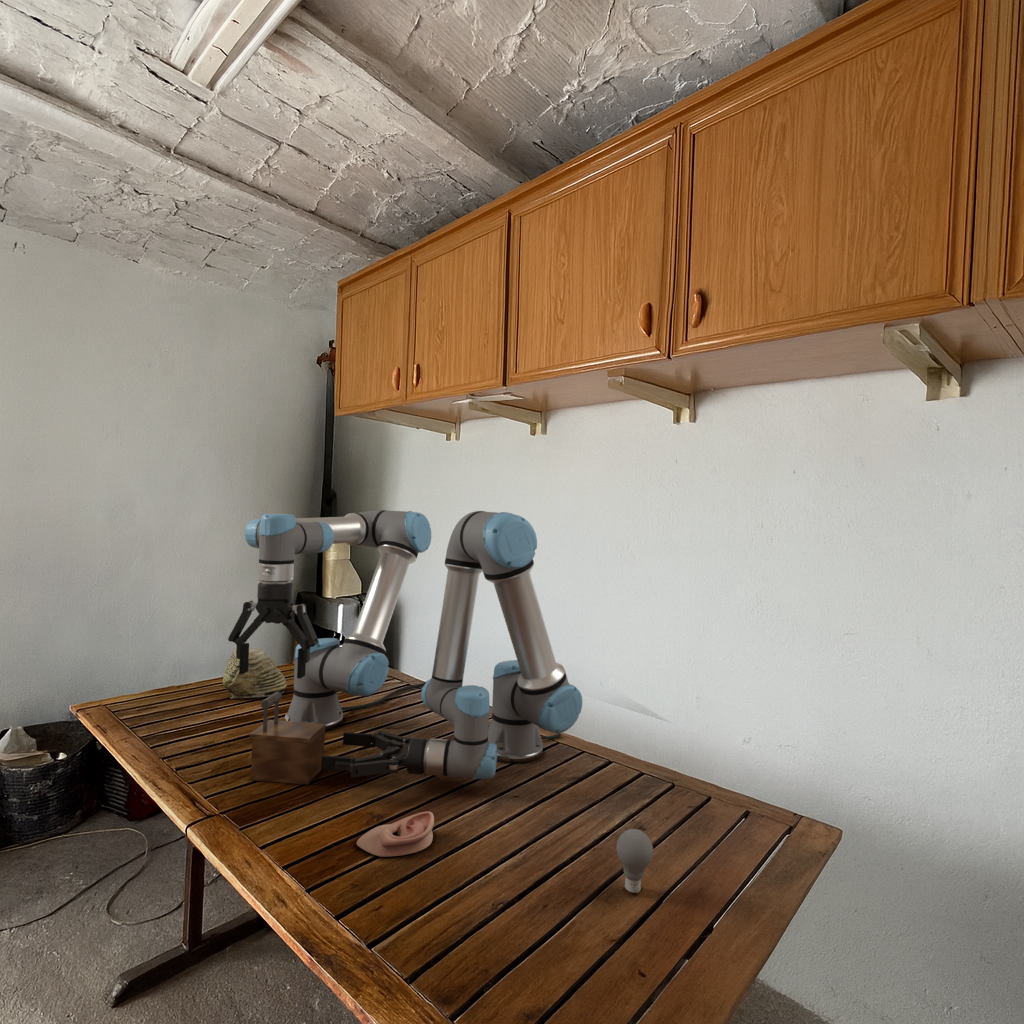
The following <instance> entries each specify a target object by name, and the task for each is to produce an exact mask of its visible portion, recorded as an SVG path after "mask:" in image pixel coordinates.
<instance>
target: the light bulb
mask: <svg viewBox="0 0 1024 1024" xmlns="http://www.w3.org/2000/svg"><path fill="white" fill-rule="evenodd" d="M615 849H616V854H617V857H618V859H619V861H620V863H621V865H622V867H623V873H624V874H623V875H624V876H625V878H624V888H625V890H627V891H628V892H630V893H634V894H635V893H639V892H640V891H641V889H642V887H641V886H642V879H643V877H644V875H645V871H646V868H647V867H648V866H649V864H650V863H651V861H652V859H653V855H654V847H653V843H652V841H651V838H649V836H648V835H647V834H646V833H645V832H643V831H642V830H641V829H636V828H629V829H627V830H625V831H623V832H622V833H621V834H620V835H619V837H618V839H617V841H616V847H615Z"/></svg>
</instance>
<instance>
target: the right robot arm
mask: <svg viewBox="0 0 1024 1024" xmlns="http://www.w3.org/2000/svg"><path fill="white" fill-rule="evenodd" d="M537 548H538V538H537V534H536V531H535V529H534V527H533V525H532V524H531V523H530V522H529V521H528V520H527V519H526V518H524V517H522V516H521V515H520V514H519V515H518V514H514V513H512V512H506V511H501V512H494V511H486V510H475V511H471V512H470V513H467V514H465V515H464V516H462V517H461V518H460V519H459V521H457V523H456V524H455V526H454V528H453V529H452V531H451V534H450V537H449V540H448V543H447V548H446V552H445V558H444V567H446V569H447V574H446V581H445V588H444V593H443V600H442V606H441V614H440V619H439V625H438V633H437V641H436V645H435V646H436V647H435V652H434V659H433V666H432V672H431V678H430V679H428V680H426V681H427V682H426V681H425V682H426V683H425V685H424V686H422V688H421V690H420V691H421V692H420V696H421V697H420V698H421V701H422V703H423V704H424V706H425V707H427V708H428V709H429V710H430V711H431V712H432V713H434V714H437V715H439V716H440V717H441V718H444V719H445V720H446V721H448V722H450V723H451V724H452V725H453V726H454V727H453V728H454V729H453V739H444V738H430V739H428V738H427V737H426V738H425V737H405V736H401V735H398V734H395V733H391V732H387V731H385V730H381V729H380V730H377V731H376V732H373V733H362V732H349V731H344V732H343V733H342V745H343V746H355V747H367V748H368V747H369V748H377V749H379V750H382V751H380V753H377V754H373V755H368V756H364V757H360V758H355V757H354V756H341V755H340V756H339V755H327V754H324V755H323V756H322V760H321V769H322V770H327V771H339V772H340V771H341V772H349V773H350V778H360V777H367V776H376V775H384V774H398V773H399V768H400V767H404V768H406V773H408V774H409V775H420V776H421V775H422V776H423V775H424V774H426V775H427V776H435V777H436V778H441V777H451V778H462V779H472V780H491V779H492V778H494V777H495V775H496V772H497V771H496V770H497V764H498V763H497V761H500V762H504V763H505V762H506V763H515V764H516V763H527V762H533V761H535V760H537V759H539V758H540V757H541V756H542V755H543V752H544V751H543V750H544V744H543V740H545V741H549V740H550V741H551V740H555V739H558V738H560V737H562V734H561V733H565V732H566V731H569V729H571V728H572V727H573V726H574V725H575V724H576V722H577V721H578V719H579V716H580V714H581V713H582V708H583V695H582V692H581V691H580V690H579V689H578V688H577V686H575V684H574V685H573V684H571V683H570V682H569V679H568V676H567V673H566V672H567V671H566V669H565V667H564V666H563V664H561V663H559V662H557V661H556V657H555V654H554V651H553V647H552V644H551V640H550V636H549V633H548V630H547V626H546V623H545V620H544V616H543V613H542V610H541V606H540V603H539V599H538V596H537V593H536V590H535V589H536V588H535V586H534V583H533V579H532V576H531V571H532V569H533V568H534V566H535V562H534V558H535V555H536V550H537ZM482 573H483V576H484V579H485V580H486V581H488V582H490V583H492V584H493V586H494V589H495V592H496V595H497V599H498V602H499V605H500V609H501V613H502V616H503V619H504V622H505V625H506V628H507V631H508V634H509V638H510V642H511V646H512V648H513V651H514V654H515V657H516V659H511V660H503V661H500V662H498V663H496V664H495V666H494V668H493V676H492V680H493V681H492V700H491V701H492V702H491V703H492V704H491V705H492V706H491V705H490V692H489V690H488V689H487V688H485V687H483V686H478V685H473V684H469V685H463V683H464V676H465V670H466V663H467V657H468V649H469V643H470V637H471V631H472V624H473V617H474V613H475V612H474V610H475V605H476V600H477V599H476V598H477V592H478V586H479V579H480V574H482ZM490 711H491V721H490ZM489 723H490V724H489ZM540 729H541V730H543V731H545V732H546V731H547V732H550V733H553V735H541V732H540Z"/></svg>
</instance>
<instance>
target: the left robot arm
mask: <svg viewBox="0 0 1024 1024" xmlns="http://www.w3.org/2000/svg"><path fill="white" fill-rule="evenodd" d="M244 539H245V541H246V543H247V545H248V546H250V547H252V548H254V549H258V571H257V572H258V573H257V579H258V581H259V582H258V584H257V594H256V595H257V601H256V602H254V600H248V601H245V602H243V604H242V611H241V613H240V615H239V617H238V619H237V621H236V623H235V625H234V627H233V628H232V630H231V632H230V634H229V636H228V638H227V640H228V642H230V643H234V644H235V646H236V649H235V650H236V657H237V658H238V659H240V662H239V674H244V673H246V672H248V663H249V648H250V642H248V640H249V639H250V637H251V636H252V635H253V634H254V633H255V632H256V631H257V630H258V629H259V627H260V626H262V624H263V623H265V624H271V623H272V624H275V625H276V624H277V625H278V624H282V625H283V626H284V627H286V629H287V630H288V632H289V633H290V634H291V636H292V638H294V640H295V641H296V642H297V645H296V647H295V652H294V653H295V654H294V657H293V659H294V660H293V662H294V663H293V665H294V666H293V695H292V696H293V697H292V699H291V702H290V704H289V708H288V711H287V713H285V716H284V719H285V721H293V722H306V723H320V724H325V731H329V730H332V729H335V728H337V727H339V726H340V725H342V723H343V722H344V713H343V711H351V710H352V711H353V710H359V709H364V708H365V709H366V708H369V707H373V706H377V705H378V704H382V703H383V702H385V701H386V700H388V699H390V698H391V697H393V696H395V695H397V694H398V693H401V692H403V691H408V690H411V689H415V688H416V689H417V688H420V687H424V685H425V683H426V682H427V681H428V680H426V681H424V682H422V683H417V684H411V685H407V686H403V687H401V688H398V689H396V690H394V691H392V692H390V693H388V694H386V695H385V696H383V697H381V698H380V699H378V700H375V701H372V702H368V703H364V704H358V705H351V706H341V702H340V699H339V695H338V692H340V693H344V694H349V695H352V696H353V697H354V696H355V697H358V696H359V697H360V696H361V697H370V696H372V695H374V694H375V693H377V692H378V691H379V690H380V689H381V688H382V687H383V685H384V684H385V682H386V680H387V678H388V675H389V670H390V667H389V665H390V661H389V659H388V657H387V656H386V652H387V649H386V647H385V645H384V640H385V638H386V634H387V632H388V629H389V626H390V623H391V619H392V617H393V614H394V611H395V608H396V604H397V602H398V598H399V597H400V592H401V590H402V587H403V584H404V582H405V578H406V575H407V572H408V569H409V566H410V565H411V564H414V563H416V561H417V558H418V555H419V553H420V554H422V553H425V552H426V551H427V550H428V549H429V548H430V545H431V543H432V528H431V524H430V521H429V519H428V517H426V515H425V514H424V513H422V512H418V511H417V512H416V511H411V510H408V511H405V510H386V509H377V510H369V511H368V510H367V511H361V512H350V513H347V514H345V515H344V516H328V517H297V518H296V516H295V515H294V514H291V513H289V514H288V513H287V514H286V513H265V514H263V515H262V516H261V518H255V519H251V520H250V521H249V522H248V523H247V525H246V527H245V530H244ZM336 544H337V545H338V544H346V545H349V546H364V547H369V548H375V549H376V548H377V551H378V553H379V555H380V557H379V559H378V562H377V565H376V567H375V571H374V573H373V575H372V578H371V581H370V584H369V586H368V589H367V592H366V596H365V599H364V601H363V605H362V606H361V610H360V613H359V615H358V617H357V620H356V623H355V625H354V629H353V632H352V633H351V634H350V635H348V636H346V637H345V638H344V640H343V643H342V645H341V646H340V644H341V643H340V640H339V639H338V638H335V637H322V638H318V636H317V634H316V631H315V629H314V627H313V625H312V622H311V620H310V618H309V615H308V614H307V605H306V604H305V603H301V604H293V597H294V583H293V582H292V581H293V580H294V577H295V575H294V573H295V572H294V567H295V555H300V554H319V553H324V552H327V551H328V550H330V548H331V547H332V546H333V545H336ZM254 611H257V613H258V615H257V616H256V617H255V619H253V621H252V622H251V623H250V625H248V627H247V628H246V629H245V630H244V628H245V627H246V625H247V623H248V621H249V619H250V617H251V615H252V613H253V612H254ZM293 612H294V614H295V615H296V617H297V619H298V622H299V624H300V627H301V628H300V627H299V625H298V624H297V623H296V621H295V618H294V616H293V615H292V613H293ZM243 630H244V631H243ZM242 632H243V633H242Z"/></svg>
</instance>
